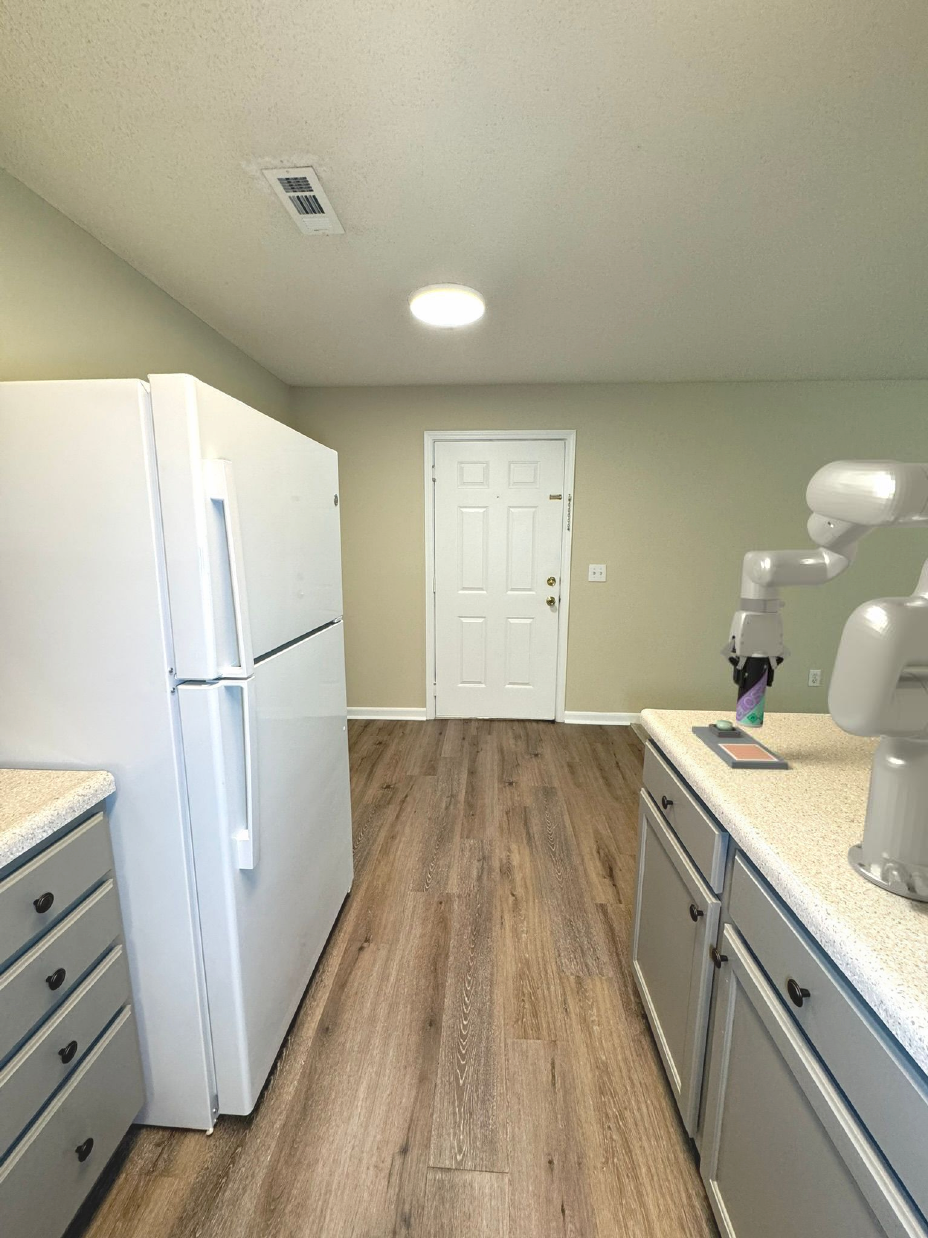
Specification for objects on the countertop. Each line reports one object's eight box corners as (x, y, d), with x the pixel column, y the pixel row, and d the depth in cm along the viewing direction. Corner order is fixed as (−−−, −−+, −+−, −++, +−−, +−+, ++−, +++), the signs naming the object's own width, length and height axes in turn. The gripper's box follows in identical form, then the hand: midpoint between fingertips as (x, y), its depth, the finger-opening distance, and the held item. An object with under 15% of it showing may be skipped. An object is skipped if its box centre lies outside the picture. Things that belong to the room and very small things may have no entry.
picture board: (787, 769, 109) (788, 756, 109) (731, 768, 110) (732, 755, 109) (737, 732, 131) (738, 721, 130) (691, 731, 132) (692, 720, 131)
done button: (735, 731, 124) (735, 725, 124) (720, 731, 124) (720, 725, 124) (728, 726, 128) (728, 720, 127) (713, 725, 128) (714, 720, 128)
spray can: (735, 725, 113) (742, 640, 110) (735, 718, 118) (742, 636, 115) (763, 729, 110) (771, 642, 107) (762, 722, 115) (769, 638, 112)
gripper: (788, 604, 113) (781, 680, 116) (712, 604, 114) (706, 680, 117) (809, 608, 106) (801, 690, 108) (727, 608, 106) (721, 689, 109)
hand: (752, 684), depth 112 cm, fingers closed on spray can, 5 cm apart
